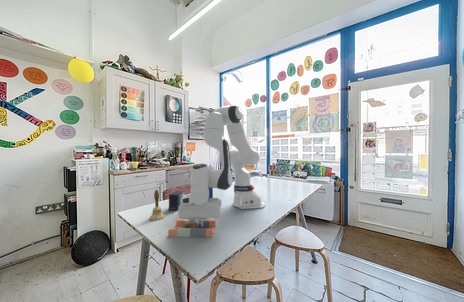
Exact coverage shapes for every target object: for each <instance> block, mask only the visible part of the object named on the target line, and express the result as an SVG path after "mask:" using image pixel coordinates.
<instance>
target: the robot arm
mask: <svg viewBox="0 0 464 302" xmlns="http://www.w3.org/2000/svg"><path fill="white" fill-rule="evenodd" d="M242 113H243V111H242V109H241V108H240V107H239V106H238V105H236V104H231V105H226V106H224V105H223V106H221V107H218V108H214V109H212V110H211V111H210V112H209V113H208V114H207V116H206V120H205V121H204V122H205V123H204V127H203V128H204V129H203V142H205V145H207V146H209V147H211V148H213V149H215V150H217V151H218V152H219V154H220V164H221V166H220V167H221V168H220V169H214V168H213V169H211V168H210V167H208V164H206V163H199V164H198V163H197V164H194V165H193V166H192V167H191V171H190V180H189V182H190V193H189V194H188V193H187V194H185V196H183V197H182V198H181V200H180V202H181V204H180V205H179V210H178V212H177V214H178V215H177V216H178V217H179V219H194V220H195V222H196V223H197V227H199V228H204V227H203V222H204V220H205V219H220V217H221V215H222V212H221V206H222V200H221V199H220V198H218V197H213V198H209V189H208V187H209V188H213V189H217V190H223V191H226V190H228V189H229V188H231V186H232V185H233V192H234V194H233V201H232V206H233V207H236V208H239V209H242V210H246V209H247V210H249V209H263V208H265V205H266V204H265V202H264V201H263V200H262V197H261V195H260V194H259V193H257V191H255V186H253V184H251V174H250V172H249V170H247V168H246V167H245V166H248V167H250V166H256V165H257V164H258V163H259V162H260V154H259V152H258V151H257V150H256V149H254V148H253V147H252V146H251V144H250V143H249V142H248V139H247V136H246V133H245V128H244V126H243V122H242V117H243V114H242ZM225 126H226V130H227V136H228V138H229V139H228V140H229V142H230V145H231V146H232V147H234V148H235V149H232V150H230V146H229V142H228V140H226V138H225V136H224V134H225ZM232 170H233V171H232ZM233 175H234V176H233ZM233 177H234V184H233ZM198 219H202V220H203V221H202V222H199V221H198Z"/></svg>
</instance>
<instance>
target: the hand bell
mask: <svg viewBox="0 0 464 302" xmlns="http://www.w3.org/2000/svg"><path fill="white" fill-rule="evenodd" d="M153 196H154V197H153V199H154V201H155V203H154V205H155V206H154V207H153V208H152V213H151V215H150V217H149V218H148V219H149V220H150V221H153V222H155V221H160V220H163V219H164V218H165V217H166V215H165V214H164V213H163V211H162V207H160V206H159V198H160V193H159V191H158V189H156V190H154V194H153Z"/></svg>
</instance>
